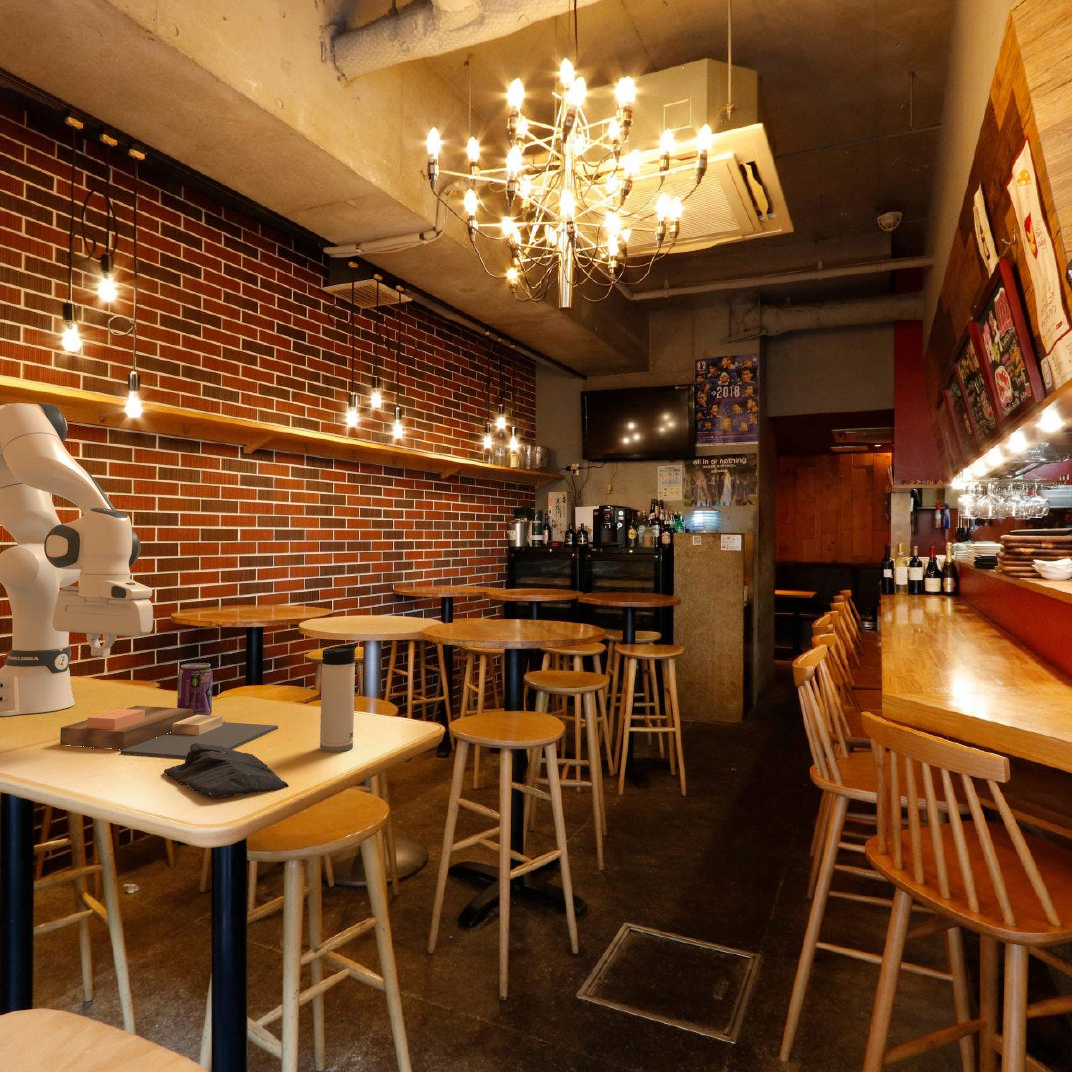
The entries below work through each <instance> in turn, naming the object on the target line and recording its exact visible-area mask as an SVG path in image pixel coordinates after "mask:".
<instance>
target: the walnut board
mask: <svg viewBox="0 0 1072 1072" xmlns="http://www.w3.org/2000/svg"><path fill="white" fill-rule="evenodd" d="M126 709H134V710H145V720H143V721H140V722H137V723H134V724H131V725H128V726H125V727H122V728H119V729H115V730H111V729H97V728H87V724H88V719H86V720H82V721H79V722H75V723H71V724H67V725H65V726H64V725H63V726H61V727H60V732H59V733H60V735H59V736H60V737H59V738H60V739H59V746H60V745H71V746H82V747H81V748H84V747H92V748H91V749H97V748H112V749H118V750H117V751H121V750H124V749H127V748H129V747H132V746H135V745H138V744H140V743H143V742H146V741H149V740H151V739H154V738H156V737H160V736H162V735H165V734H167V733H170V732H172V725H173V723H176V722H178V721H181V720H184V719H187V718H189V717H192V716H193V709H182V708H177V707H164V706H163V707H162V706H148V705H147V706H146V705H134V706H131V707H127V708H126ZM83 746H84V747H83ZM93 747H94V748H93ZM119 749H120V750H119Z"/></svg>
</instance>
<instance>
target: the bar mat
mask: <svg viewBox="0 0 1072 1072" xmlns="http://www.w3.org/2000/svg"><path fill="white" fill-rule="evenodd" d="M278 729H279V725H274V724H261V723H260V724H259V723H244V722H243V723H241V722H227V721H222V726H220V727H218V728H215V729H213V730H210V731H208V732H205V733H203V734H200V735H190V734H174V733H172V732H171V733H168V734H165V735H162V736H160V737H157V738H154V739H151V740H149V741H146V742H143V743H140V744H138V745H135V746H132V747H129V748H127V749H124V750H120V754H121V755H129V754H131V756H142V757H143V756H145V757H146V756H147V757H157V758H170V759H171V758H172V759H183V760H185V758H186V757H187V754H188V752H189V751H190V747H191V744H194V743H200V744H206V745H214V746H222V747H225V748H229V749H231V750H234V749H236V748H238V747H240V746H243V745H245V744H247V743H249V742H252V741H253V740H256V739H258V738H260V737H262V735H263V736H264V735H267V734H268V732H269V733H271V732H274V731H276V730H278Z"/></svg>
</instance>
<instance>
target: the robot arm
mask: <svg viewBox="0 0 1072 1072" xmlns="http://www.w3.org/2000/svg"><path fill="white" fill-rule="evenodd" d="M67 437H68V423H67V420H66V418H65V415H64V413H63V412H62V410H61V409H60V408H59V407H58V406H57V405H55V404H51V403H46V402H45V403H44V402H38V403H26V402H24V403H23V402H16V403H4V404H0V525H1V527H2V528H3V529H4V530H5V531H6V532H8V533H9V534H10V535H11V537H12V539H14V541H15V542H16V544H17V545H15V546H14V545H13V546H11V547H9V548H7V549H5V550H3V551H1V553H0V584H1V585H2V586H3V588H4V589H5V591H6V595H7V598H8V602H9V605H10V609H11V615H12V617H11V618H12V635H11V636H12V637H11V638H12V641H11V642H12V643H11V645H12V647H11V648H10V650H9V651H3V652H1V654H2V656H1V658H6V659H5V662H4V665H3V666H2V667H1V668H0V717H9V716H17V715H26V714H38V713H39V714H40V713H46V712H54V711H59V710H63V709H67V708H70V707H73V706H75V704H76V702H75V698H74V695H73V691H72V690H73V689H72V682H71V673H70V672H71V671H70V668H69V666H70V662H71V659H72V657H71V656H72V651H71V650H72V648H71V646H70V645H69V644H70V633H82V634H86V637H85V638H86V642H87V643H88V645H89V646H90V648H91V649H90V656H91V657H104V658H105V657H110V655H111V648H112V646H113V645H114V643H115V642H116V640H117V636H123V637H124V636H125V637H126V636H127V637H144V636H145V637H146V636H148V635H149V634H150V633H151V632H152V631H153V626H154V625H153V624H154V607H153V604H152V601H151V600H150V598H151V597H152V596H153V589H152V588H151V587H149V586H147V585H145V584H142V583H140V582H137V581H135V580H133V579H131V570H130V569H131V567H132V566H133V565H134V564H135V563H136V562H137V560H138V559H139V557H140V555H141V552H142V544H141V540H140V539H139V536H138V534H137V533H136V532H135V530H134V529H133V528H132V527H133V526H132V522H131V519H130V516H129V515H128V514H127V513H125V512H124V511H120V510H117V509H116V508H115V507H114V505H113V503H112V502H111V500H110V499H109V497H108V496H107V494H106V493H105V491H104V490H103V488H102V487H101V485H100V484H99V483H98V481H96V479H95V477H94V476H92V474H91V473H90V472H89V471H87V469H85V468H83V467H82V466H81V464H79V463H78V461H76V460H75V458H73V456H72V455H71V454H70V453H69V451H68V450H67V448H66V447H65V445H64V444H63V443H64V442H65V440H67ZM51 494H52V495H55V496H58V497H60V498H63V499H66V500H67V501H69V502H71V503H73V504H74V505H75V506H76V507H77V508H78V509H79V510H80V511H81V513H82V516H81V517H79V518H77V519H75V520H72V521H69V522H67V523H62V522H61V520H60V518H59V516H58V514H57V512H56V508H55V506H54V502H53V500H52V496H51ZM78 581H79V583H78V586H72V585H73V584H75V583H77V582H78ZM60 588H61V589H60ZM101 635H102V641H103V640H104V641H103V643H102V645H101V644H100V641H99V639H100V638H101ZM4 654H5V655H4Z"/></svg>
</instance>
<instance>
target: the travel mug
mask: <svg viewBox="0 0 1072 1072" xmlns="http://www.w3.org/2000/svg"><path fill="white" fill-rule="evenodd" d="M356 649H357V644H353V643H350V644H349V643H348V644H347V645H346V644H345V645H335V646H330V647H327V648H324V649H323V650H322V660H321V661H322V663H321V686H320V688H321V691H320V694H321V695H320V726H319V728H320V729H319V730H320V731H319V733H320V734H319V736H320V737H319V740H320V742H319V749H320V751H322V752H325V753H342V752H347V751H350V750H352V748H353V747H354V725H355V723H354V719H355V717H354V716H355V680H356V678H355V677H356V675H355V674H356V673H355V672H356V666H355V665H356V660H355V658H356Z"/></svg>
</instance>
